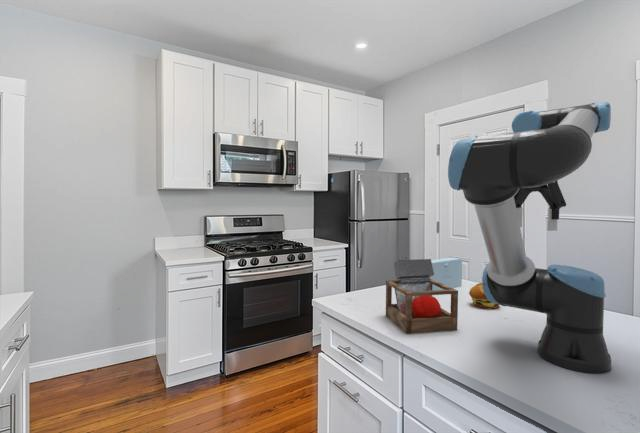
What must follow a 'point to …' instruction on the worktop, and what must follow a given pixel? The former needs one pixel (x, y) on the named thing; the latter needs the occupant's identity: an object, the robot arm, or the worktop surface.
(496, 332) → the worktop surface
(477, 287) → the cheeseburger
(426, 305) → the tomato
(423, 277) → the trapdoor
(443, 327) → the frame
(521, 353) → the worktop surface
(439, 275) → the light blue box
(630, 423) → the worktop surface
